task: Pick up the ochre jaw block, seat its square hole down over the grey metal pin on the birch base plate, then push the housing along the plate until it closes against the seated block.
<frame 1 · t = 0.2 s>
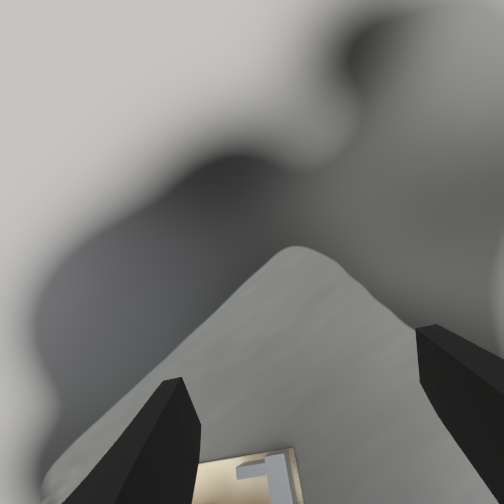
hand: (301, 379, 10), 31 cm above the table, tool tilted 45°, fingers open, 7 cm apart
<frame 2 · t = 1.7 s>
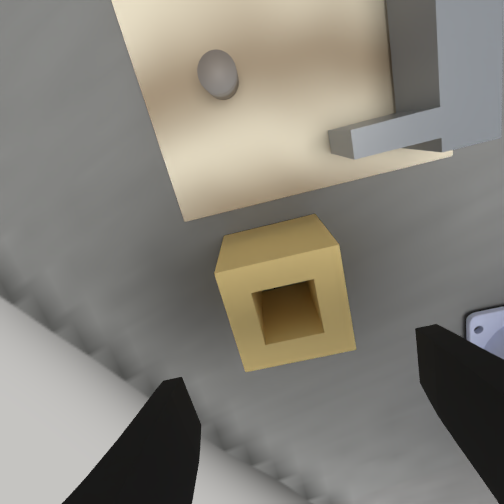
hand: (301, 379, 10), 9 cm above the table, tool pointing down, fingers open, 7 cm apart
housing: (394, 24, 11), point 3 cm above the table, slide at 0.0 cm
jaw block: (278, 266, 18), on the table
base plate: (290, 80, 15), on the table
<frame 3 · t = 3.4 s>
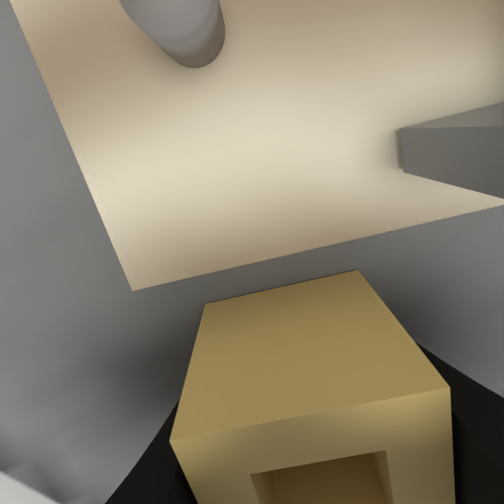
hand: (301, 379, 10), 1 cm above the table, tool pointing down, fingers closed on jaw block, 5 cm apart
jaw block: (295, 350, 11), on the table, touching gripper
base plate: (323, 33, 8), on the table
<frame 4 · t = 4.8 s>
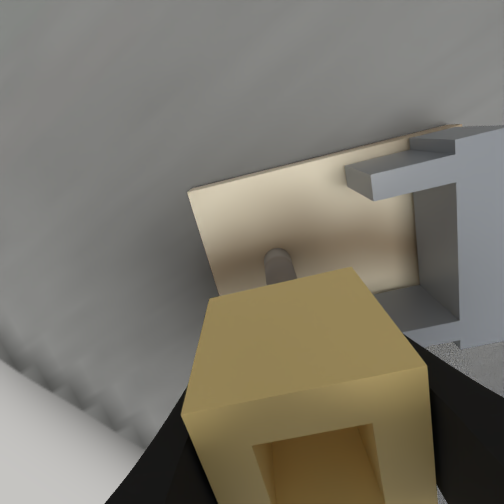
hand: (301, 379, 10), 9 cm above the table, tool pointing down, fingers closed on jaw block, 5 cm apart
housing: (423, 245, 14), point 3 cm above the table, slide at 0.0 cm
jaw block: (293, 342, 12), point 7 cm above the table, touching gripper
base plate: (330, 248, 18), on the table
when the fingers open (4 cm above the table, at t = 6.4 s): jaw block stays where it is, resting on base plate.
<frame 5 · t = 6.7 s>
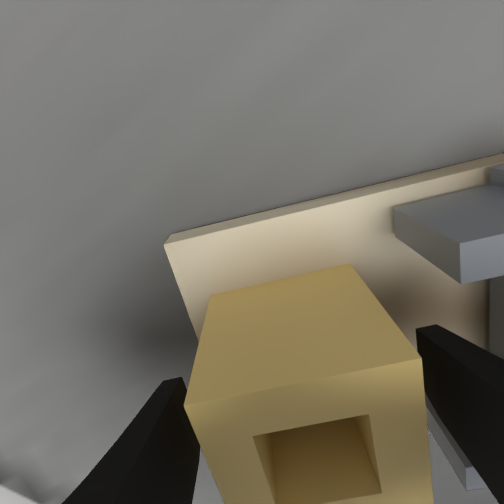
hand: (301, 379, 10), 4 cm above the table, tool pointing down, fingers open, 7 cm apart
jaw block: (293, 337, 12), point 1 cm above the table, touching base plate
base plate: (363, 311, 13), on the table
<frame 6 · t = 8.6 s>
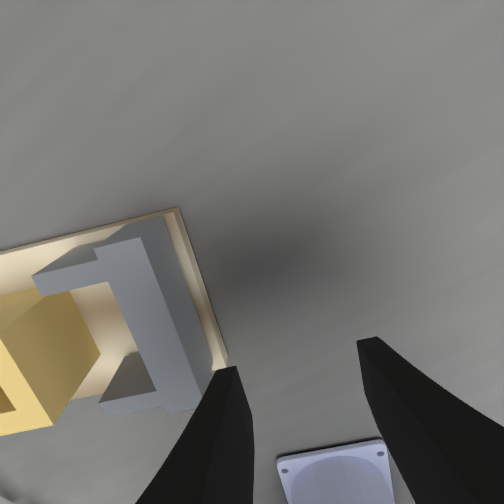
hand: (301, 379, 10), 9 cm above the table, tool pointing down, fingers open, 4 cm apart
housing: (136, 321, 16), point 3 cm above the table, slide at 0.0 cm
jaw block: (43, 328, 19), point 1 cm above the table, touching base plate
base plate: (102, 310, 20), on the table
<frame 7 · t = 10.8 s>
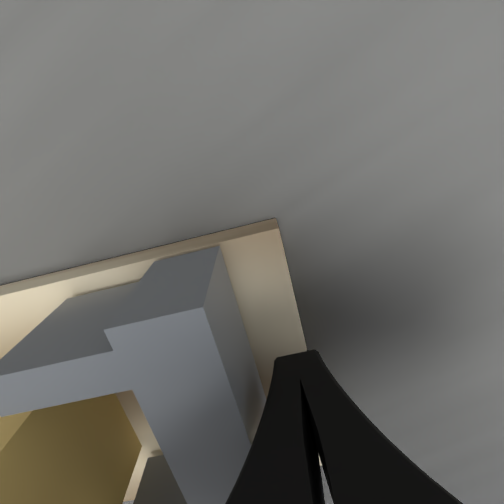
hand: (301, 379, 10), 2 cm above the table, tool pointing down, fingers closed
housing: (174, 427, 9), point 3 cm above the table, slide at 1.3 cm, touching gripper
jaw block: (52, 410, 12), point 1 cm above the table, touching base plate
base plate: (143, 376, 13), on the table
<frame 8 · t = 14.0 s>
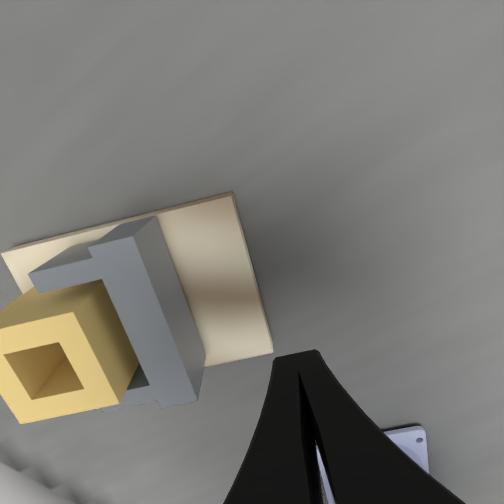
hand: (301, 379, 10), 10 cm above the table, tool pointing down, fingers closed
housing: (130, 317, 17), point 3 cm above the table, slide at 3.5 cm
jaw block: (95, 312, 19), point 1 cm above the table, touching base plate
base plate: (151, 296, 20), on the table
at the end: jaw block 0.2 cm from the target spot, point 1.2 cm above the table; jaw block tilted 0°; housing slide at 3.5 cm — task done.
